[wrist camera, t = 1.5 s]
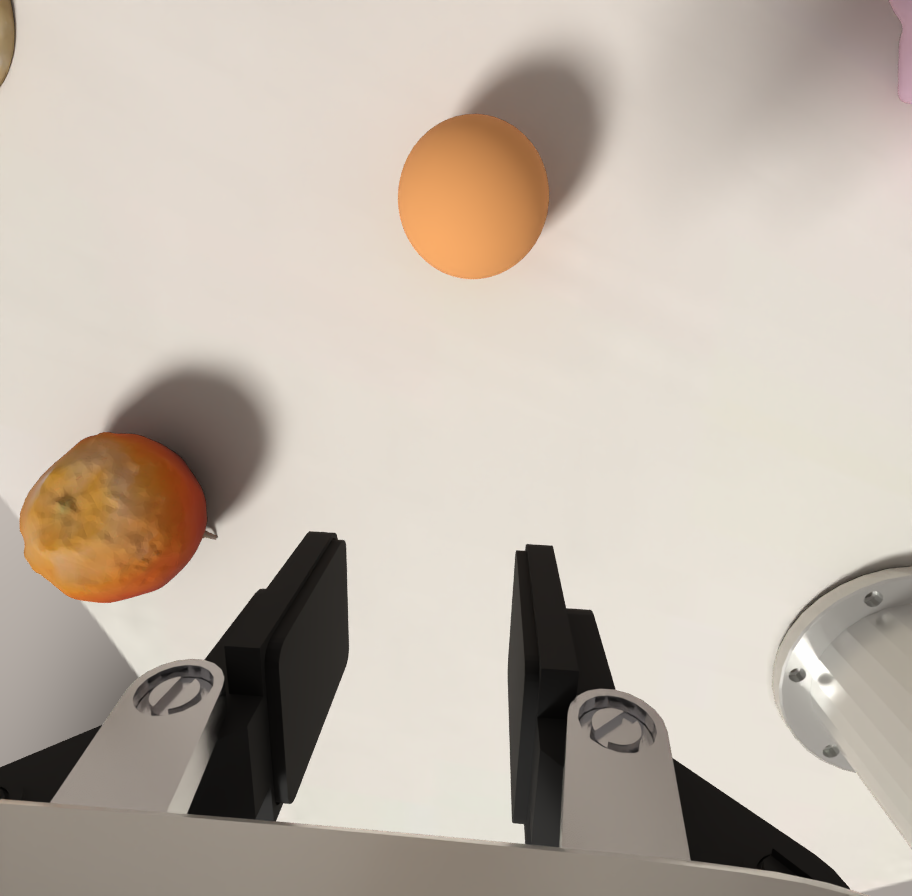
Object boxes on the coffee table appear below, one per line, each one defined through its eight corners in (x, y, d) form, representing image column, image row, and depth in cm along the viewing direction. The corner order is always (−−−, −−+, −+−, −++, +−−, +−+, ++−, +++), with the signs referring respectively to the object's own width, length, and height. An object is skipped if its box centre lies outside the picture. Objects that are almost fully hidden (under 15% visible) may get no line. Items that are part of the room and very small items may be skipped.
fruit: (129, 614, 31) (-16, 623, 24) (120, 478, 34) (-16, 448, 26) (259, 578, 30) (150, 576, 23) (241, 440, 32) (135, 396, 25)
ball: (547, 136, 24) (564, 93, 19) (537, 281, 26) (549, 281, 20) (410, 134, 25) (384, 90, 19) (409, 276, 27) (385, 276, 21)
